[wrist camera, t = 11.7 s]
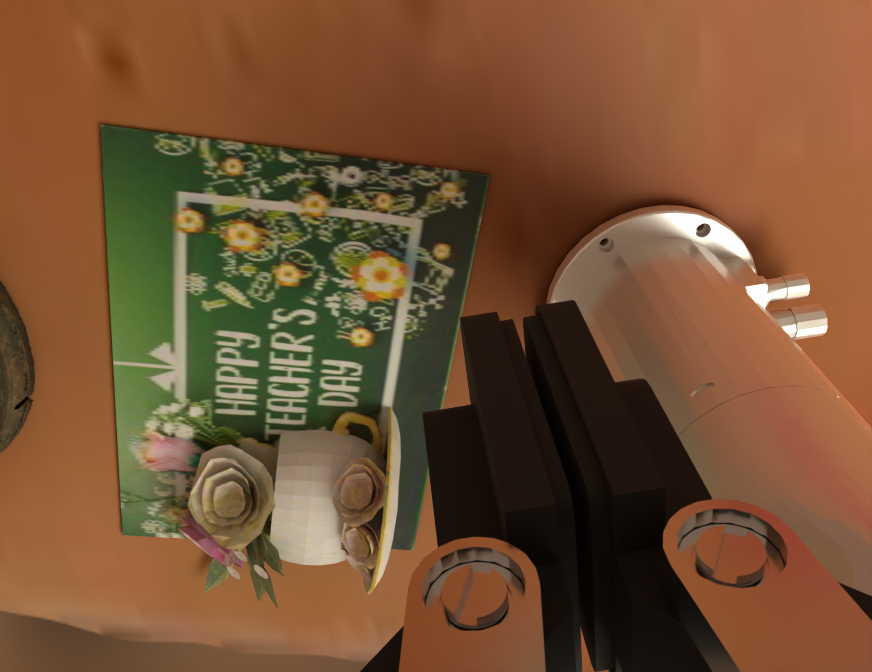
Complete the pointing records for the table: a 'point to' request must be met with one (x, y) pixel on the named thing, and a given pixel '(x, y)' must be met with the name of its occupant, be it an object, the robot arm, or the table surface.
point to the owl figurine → (13, 370)
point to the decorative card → (280, 344)
